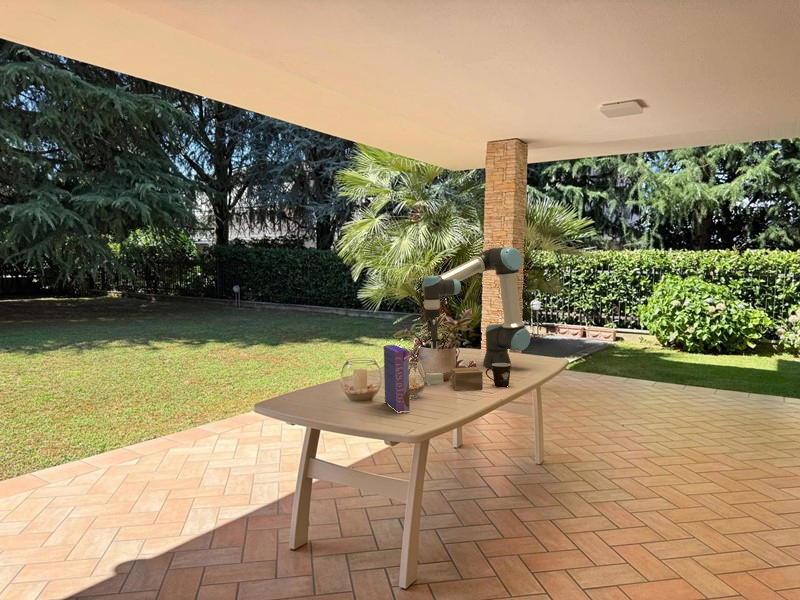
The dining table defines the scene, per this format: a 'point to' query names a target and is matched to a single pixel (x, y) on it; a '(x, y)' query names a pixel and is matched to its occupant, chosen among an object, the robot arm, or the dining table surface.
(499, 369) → the coffee mug
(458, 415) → the dining table surface
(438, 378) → the small box
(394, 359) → the cereal box
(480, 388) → the walnut block
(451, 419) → the dining table surface
